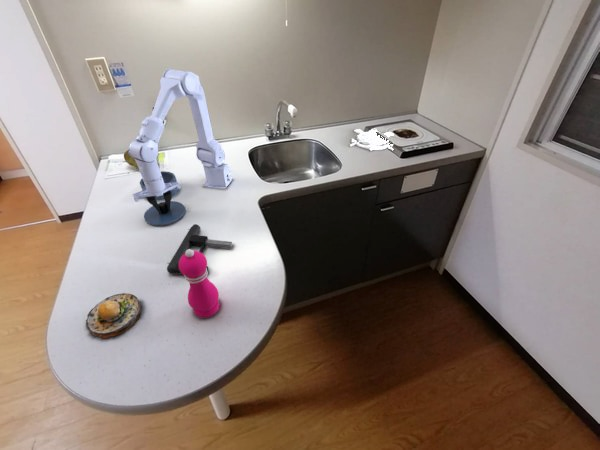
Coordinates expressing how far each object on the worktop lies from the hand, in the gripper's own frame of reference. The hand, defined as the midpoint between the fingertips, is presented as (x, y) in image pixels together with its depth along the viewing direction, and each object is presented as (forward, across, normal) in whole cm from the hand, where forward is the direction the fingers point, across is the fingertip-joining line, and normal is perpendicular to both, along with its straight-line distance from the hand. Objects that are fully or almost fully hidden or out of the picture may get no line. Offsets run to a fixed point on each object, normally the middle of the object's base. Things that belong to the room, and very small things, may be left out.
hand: (164, 211), depth 106 cm
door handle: (+2, +4, -25) cm, 26 cm away
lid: (+1, 0, 0) cm, 1 cm away
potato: (+3, +1, +43) cm, 43 cm away
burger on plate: (+2, -21, -35) cm, 41 cm away
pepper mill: (+2, -2, -45) cm, 45 cm away
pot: (+2, +3, +17) cm, 17 cm away
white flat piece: (+3, +107, +8) cm, 108 cm away
